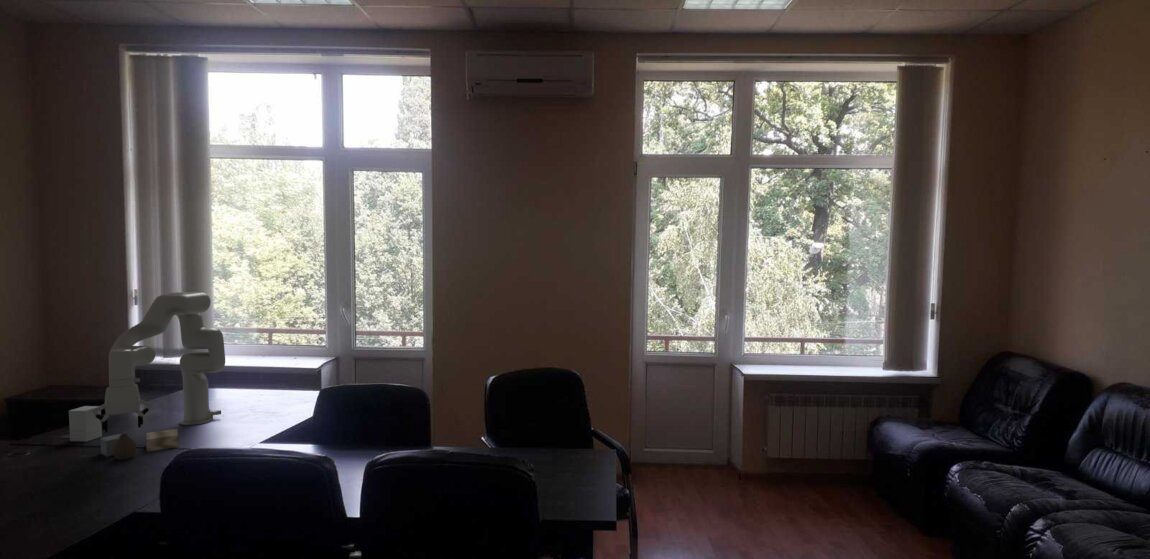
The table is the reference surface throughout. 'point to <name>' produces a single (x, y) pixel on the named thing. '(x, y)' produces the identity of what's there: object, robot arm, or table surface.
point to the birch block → (161, 440)
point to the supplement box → (84, 424)
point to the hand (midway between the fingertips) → (123, 429)
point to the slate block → (108, 444)
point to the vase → (124, 447)
